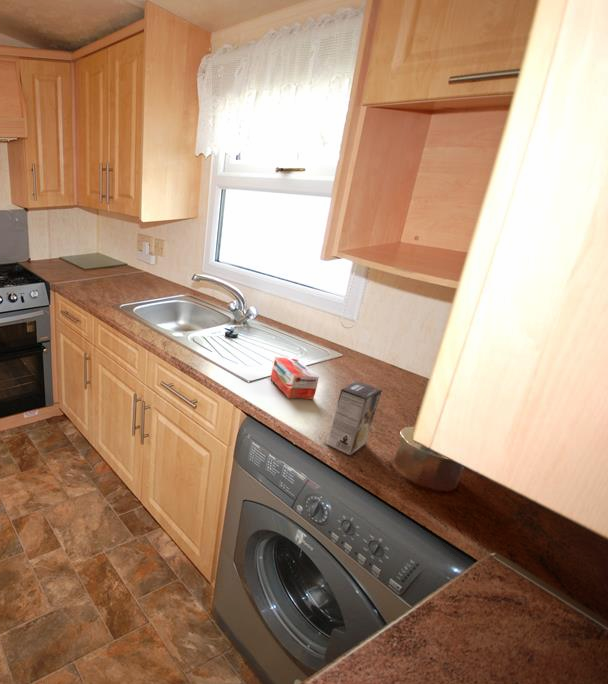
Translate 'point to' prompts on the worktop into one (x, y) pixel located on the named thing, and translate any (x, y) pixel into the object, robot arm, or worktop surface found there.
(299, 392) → the medicine box
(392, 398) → the worktop surface
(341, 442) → the coffee box
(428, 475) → the pot
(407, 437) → the lid
